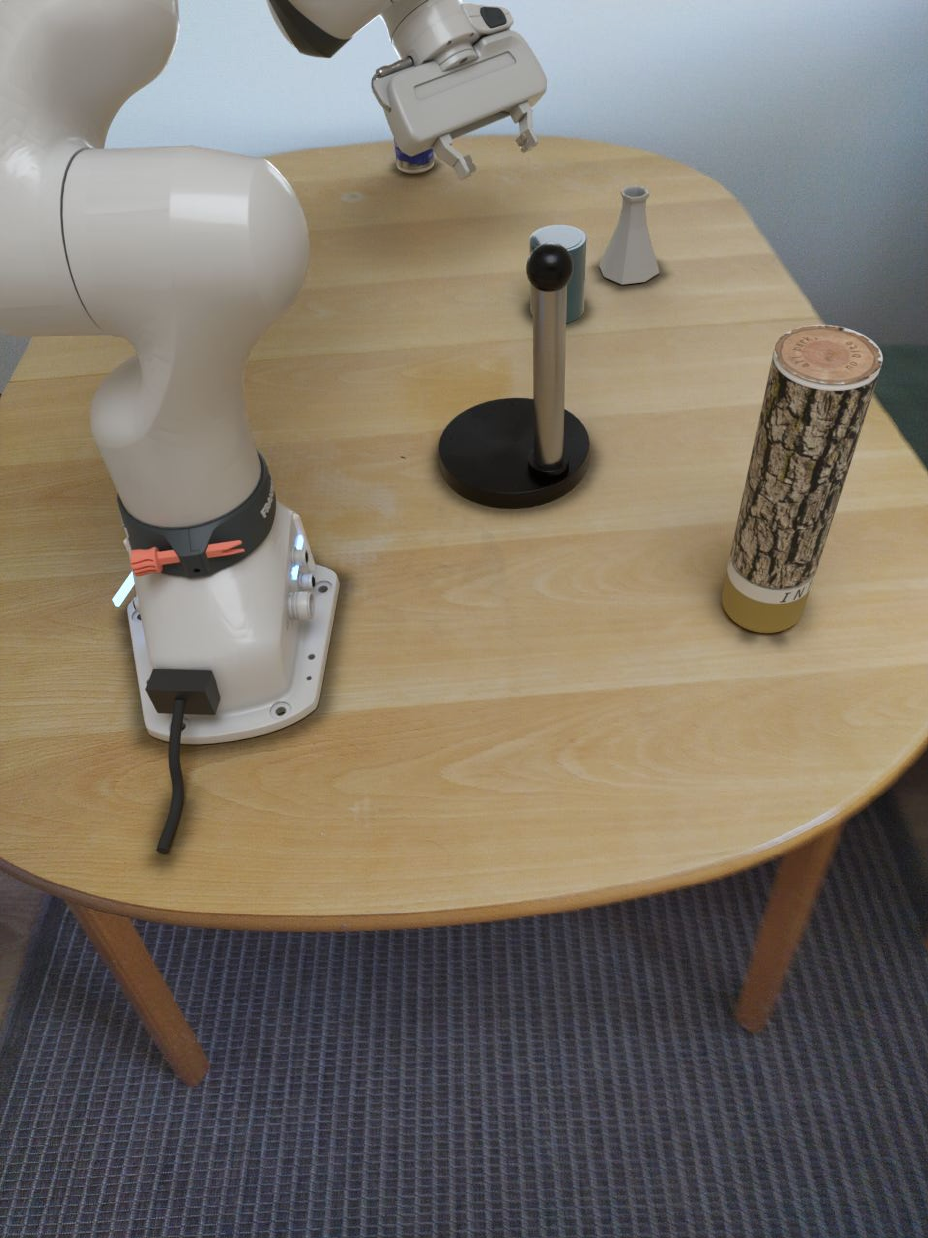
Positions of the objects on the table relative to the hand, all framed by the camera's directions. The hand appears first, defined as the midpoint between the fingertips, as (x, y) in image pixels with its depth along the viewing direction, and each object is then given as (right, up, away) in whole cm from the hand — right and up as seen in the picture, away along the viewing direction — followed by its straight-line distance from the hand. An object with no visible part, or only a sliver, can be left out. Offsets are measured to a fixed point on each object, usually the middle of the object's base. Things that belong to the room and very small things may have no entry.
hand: (500, 161), depth 107 cm
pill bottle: (-11, +16, +35) cm, 40 cm away
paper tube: (+21, -51, -26) cm, 61 cm away
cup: (+7, -15, +6) cm, 17 cm away
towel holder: (+1, -35, -11) cm, 37 cm away
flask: (+16, -8, +11) cm, 22 cm away
